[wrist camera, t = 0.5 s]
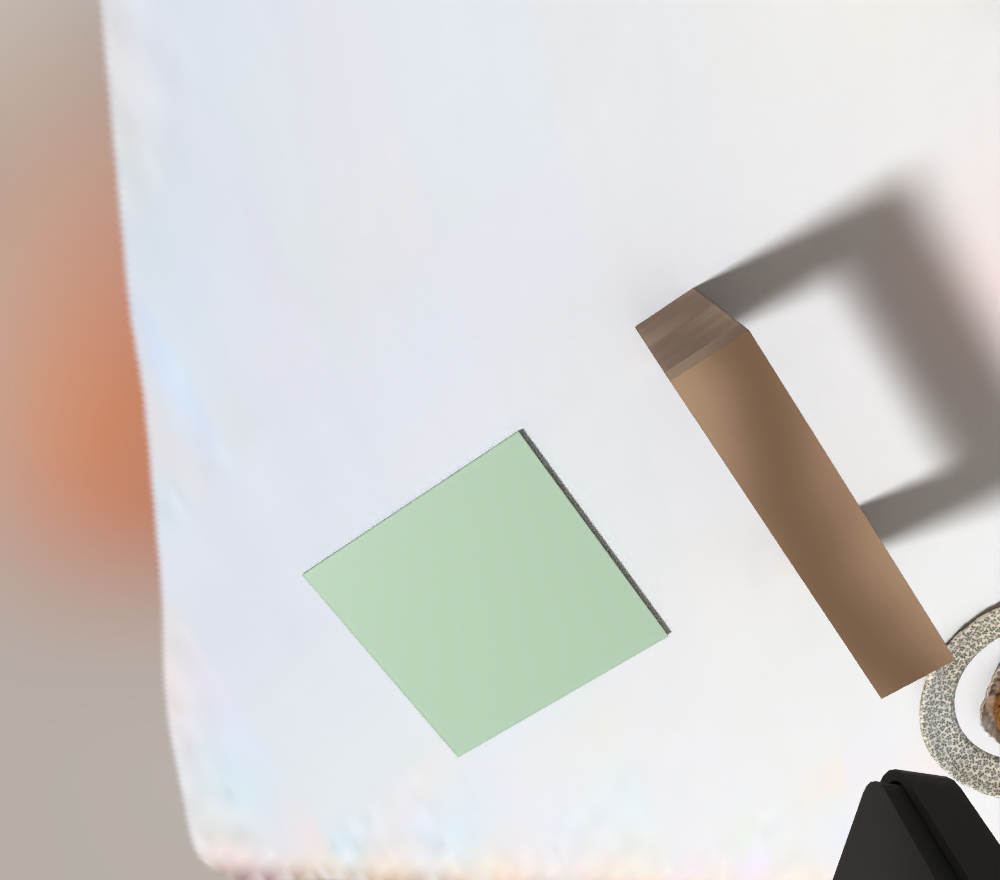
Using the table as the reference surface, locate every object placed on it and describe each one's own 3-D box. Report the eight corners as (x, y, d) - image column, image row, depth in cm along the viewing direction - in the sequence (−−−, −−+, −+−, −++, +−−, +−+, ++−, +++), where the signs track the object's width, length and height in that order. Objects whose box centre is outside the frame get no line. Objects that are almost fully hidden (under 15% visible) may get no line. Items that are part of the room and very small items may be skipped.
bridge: (693, 287, 37) (748, 330, 27) (857, 546, 40) (955, 660, 31) (635, 327, 37) (670, 381, 28) (802, 577, 41) (881, 698, 32)
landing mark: (518, 430, 39) (518, 432, 39) (667, 634, 42) (668, 636, 42) (303, 573, 42) (302, 575, 41) (458, 755, 45) (458, 757, 45)
